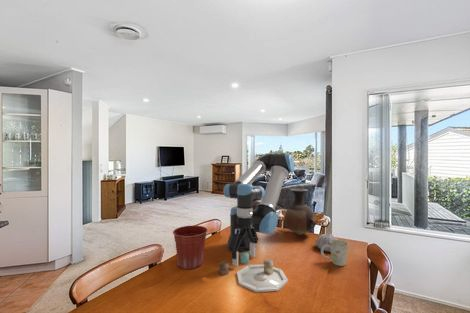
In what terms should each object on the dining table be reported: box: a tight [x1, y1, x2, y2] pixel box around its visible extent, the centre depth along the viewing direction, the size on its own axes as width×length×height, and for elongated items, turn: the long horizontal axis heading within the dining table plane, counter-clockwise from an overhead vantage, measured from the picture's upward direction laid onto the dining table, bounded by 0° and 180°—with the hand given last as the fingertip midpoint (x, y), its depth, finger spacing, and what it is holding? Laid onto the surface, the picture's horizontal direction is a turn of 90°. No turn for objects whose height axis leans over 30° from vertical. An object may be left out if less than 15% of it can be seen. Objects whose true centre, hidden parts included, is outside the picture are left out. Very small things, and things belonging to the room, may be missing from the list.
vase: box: [284, 188, 316, 236], centre depth 154 cm, size 23×19×30 cm
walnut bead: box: [218, 261, 229, 276], centre depth 103 cm, size 4×4×5 cm
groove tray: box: [236, 263, 289, 293], centre depth 99 cm, size 20×20×2 cm
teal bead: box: [240, 251, 250, 265], centre depth 113 cm, size 4×4×5 cm
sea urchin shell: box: [315, 233, 339, 253], centre depth 132 cm, size 13×14×8 cm
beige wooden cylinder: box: [263, 258, 274, 275], centre depth 103 cm, size 4×4×5 cm
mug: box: [320, 239, 350, 267], centre depth 115 cm, size 8×13×10 cm, turn 78°
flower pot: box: [172, 225, 208, 270], centre depth 114 cm, size 16×16×16 cm
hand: (244, 260), depth 112 cm, fingers open, 13 cm apart
